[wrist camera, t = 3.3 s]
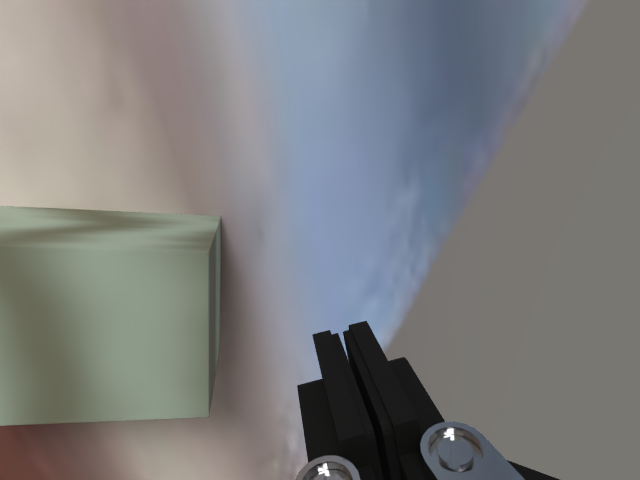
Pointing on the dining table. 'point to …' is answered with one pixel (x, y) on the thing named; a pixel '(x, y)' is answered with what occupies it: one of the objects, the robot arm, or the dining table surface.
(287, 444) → the dining table surface
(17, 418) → the block
